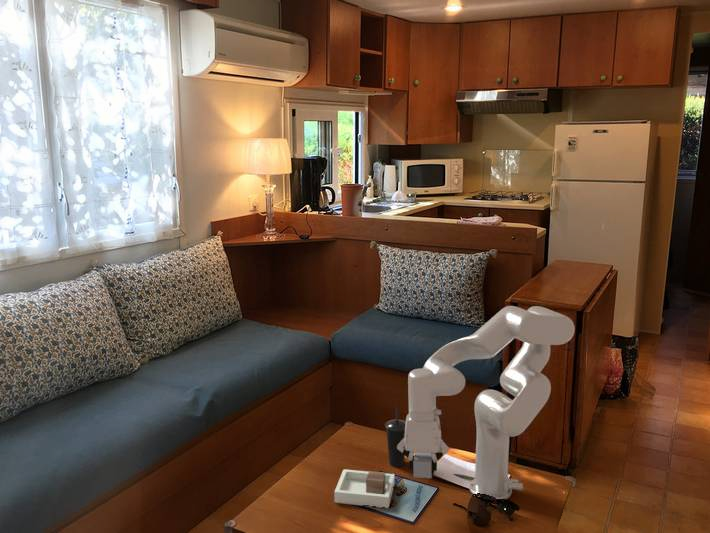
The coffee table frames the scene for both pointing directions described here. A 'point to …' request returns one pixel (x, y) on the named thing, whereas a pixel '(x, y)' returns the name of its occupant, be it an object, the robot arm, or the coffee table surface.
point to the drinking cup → (395, 440)
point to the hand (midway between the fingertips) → (423, 471)
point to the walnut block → (376, 482)
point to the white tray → (361, 490)
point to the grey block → (422, 465)
